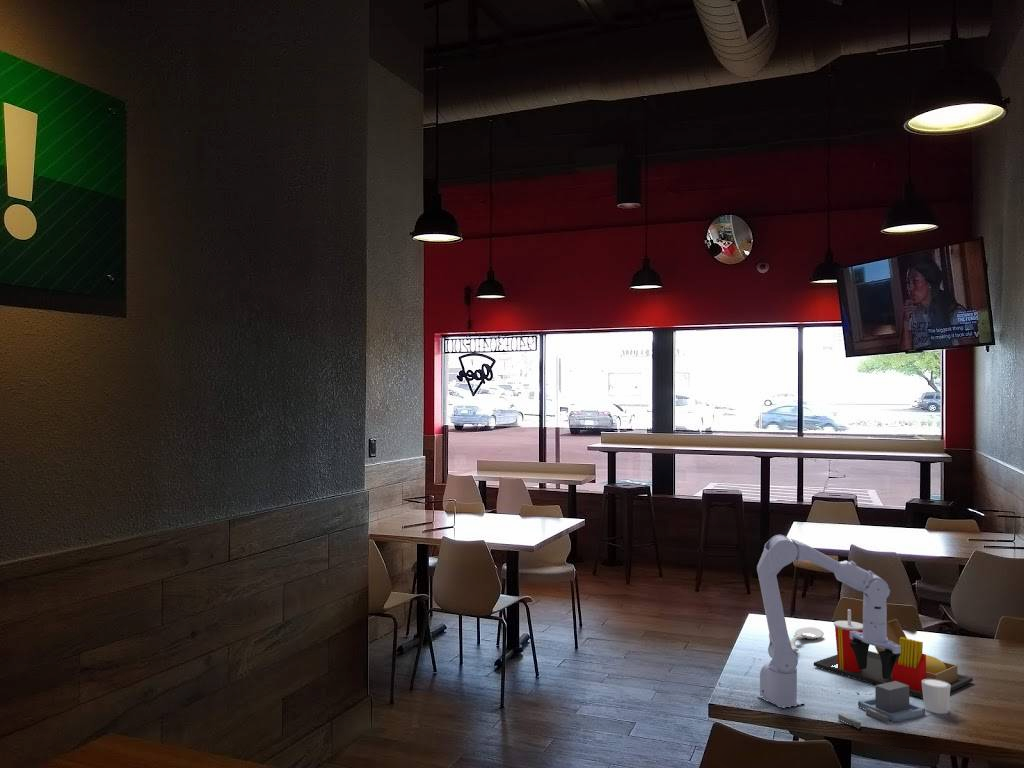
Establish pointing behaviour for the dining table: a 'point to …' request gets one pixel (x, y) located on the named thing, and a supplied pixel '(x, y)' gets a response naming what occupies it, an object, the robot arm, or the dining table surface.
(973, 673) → the dining table surface
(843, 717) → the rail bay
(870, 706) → the tray
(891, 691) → the grey bar
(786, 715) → the dining table surface
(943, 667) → the fast food meal
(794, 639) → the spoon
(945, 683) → the white cup
